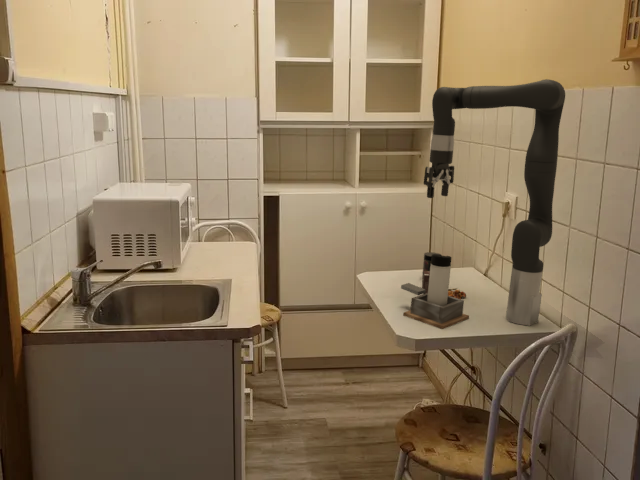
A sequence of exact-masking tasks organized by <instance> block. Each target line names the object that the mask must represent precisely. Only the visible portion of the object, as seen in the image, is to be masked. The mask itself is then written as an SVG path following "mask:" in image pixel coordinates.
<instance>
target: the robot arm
mask: <svg viewBox="0 0 640 480" xmlns="http://www.w3.org/2000/svg"><path fill="white" fill-rule="evenodd" d="M431 101H432V102H431V103H432V104H431V105H432V106H431V107H432V118H433V127H432V136H431V140H430V151H429V159H428V160H429V163H430V164H431V166H426V167H424V168H425V170H424V177H423V185H425V186H426V187H427V188H426V197H427V199H433V198H434V196H435V186H436V183H438V182H439V181H441V183H442V184H441V194H440V195H441V196H442V197H448V195H449V187H450V186H451V184H453V183H454V181H455V180H454V178H455V166H454V165H451V164H452V163H453V157H454V149H455V148H454V146H455V128H456V121H455V118H454V117H453V110H459V109H469V110H472V109H473V110H479V109H481V110H482V109H485V110H486V109H497V108H506V107H508V108H509V107H518V108H519V107H520V108H526V109H532V110H535V111H534V112H535V115H534V127H533V132H532V134H531V137H530V141H529V144H528V147H527V149H526V155H525V161H524V168H523V169H524V171H523V172H524V174H523V175H524V177H523V178H524V184H525V187H526V190H527V194H528V198H529V199H528V200H529V212H528V217H527V219H525V220H521V221H519V222H518V223H517V224H516V225H515V226H514V229H513V233H512V237H511V238H512V240H511V251H510V252H511V253H510V258H511V261H512V266H511V275H510V281H509V282H510V283H509V290H508V296H507V297H508V298H507V305H506V313H505V319H506V320H507V321H508V322H510V323H514V324H516V325H517V324H518V325H522V326H523V325H525V326H529V327H530V326H532V325H534V324H536V323H538V322H539V319H540V318H539V317H540V311H541V304H542V297H543V295H542V293H540V291H541V285H542V284H541V283H542V280H543V279H542V278H543V271H544V262H543V260H542V259H540V250H541V249H540V248H541V247H544V246H546V245H547V244H548V243H549V242H550V240H551V238H552V236H553V202H554V194H555V184H556V183H555V182H556V175H557V168H558V166H557V165H558V155H559V153H558V152H559V139H560V138H559V136H560V135H559V133H560V124H561V123H560V122H561V120H562V119H561V118H562V115H563V114H562V113H563V109H564V104H565V101H566V89H565V88H564V86H563V85H562V84H561V83H560V82H558V81H556V80H552V79H548V78H546V79H542V80H537V81H533V82H528V83H522V84H515V85H476V86H475V85H473V86H468V87H448V86H441V87H439V88H437V89H436V90H435V92H434V93H433V96H432V100H431Z"/></svg>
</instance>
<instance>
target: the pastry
mask: <svg viewBox="0 0 640 480" xmlns="http://www.w3.org/2000/svg"><path fill="white" fill-rule="evenodd" d="M448 296H451V297H454V298H457V299H461V300H462V297H464V298H466V297H467V293H466V292H464V291H462V290H460V289H459V287H454V288H449V289H448Z"/></svg>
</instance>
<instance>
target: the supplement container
mask: <svg viewBox="0 0 640 480" xmlns="http://www.w3.org/2000/svg"><path fill="white" fill-rule="evenodd" d="M432 254H439V255H441V256H443V255H442V254H441V253H438V252H431V251H430V252H424V253H423V263H422V264H423V265H422V274H421V279H422V280H423V271H430V266H431V258H432Z"/></svg>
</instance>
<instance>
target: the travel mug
mask: <svg viewBox="0 0 640 480" xmlns="http://www.w3.org/2000/svg"><path fill="white" fill-rule="evenodd" d="M439 254H440V253H439ZM439 254H432V258H431V266H430V277H429V287H428V298H427V302H430V303H433V304H436V305H439V306H444V305H447V298H448V289H450V288H449V286H450V278H451V270H452V269H451V267H452V264H451V263H452V258H453V257H452V256H449V255H442V254H441V255H442V256H441V255H439Z"/></svg>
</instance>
